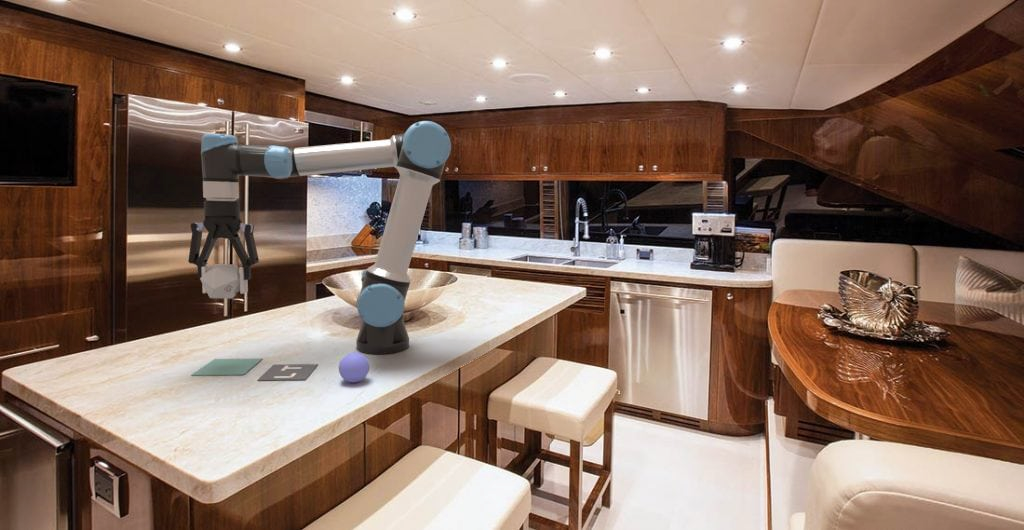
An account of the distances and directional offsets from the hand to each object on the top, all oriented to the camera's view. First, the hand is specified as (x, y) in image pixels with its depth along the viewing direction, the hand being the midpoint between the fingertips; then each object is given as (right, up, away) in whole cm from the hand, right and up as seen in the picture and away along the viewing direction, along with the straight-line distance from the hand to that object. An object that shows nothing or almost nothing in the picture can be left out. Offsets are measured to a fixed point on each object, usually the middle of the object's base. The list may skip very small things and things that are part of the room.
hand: (225, 292), depth 125 cm
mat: (-1, -19, +3) cm, 19 cm away
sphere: (+33, -21, -4) cm, 40 cm away
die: (0, -1, 0) cm, 1 cm away
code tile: (+16, -20, 0) cm, 25 cm away
